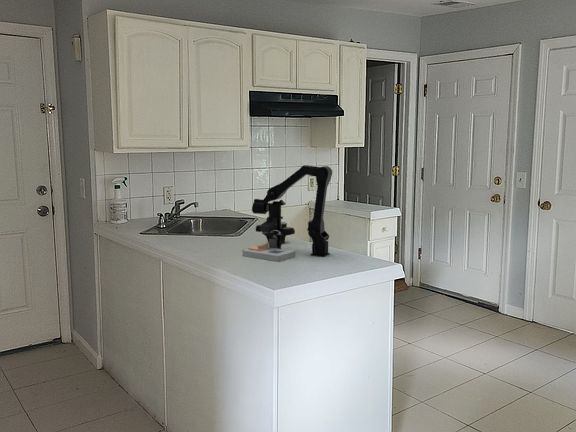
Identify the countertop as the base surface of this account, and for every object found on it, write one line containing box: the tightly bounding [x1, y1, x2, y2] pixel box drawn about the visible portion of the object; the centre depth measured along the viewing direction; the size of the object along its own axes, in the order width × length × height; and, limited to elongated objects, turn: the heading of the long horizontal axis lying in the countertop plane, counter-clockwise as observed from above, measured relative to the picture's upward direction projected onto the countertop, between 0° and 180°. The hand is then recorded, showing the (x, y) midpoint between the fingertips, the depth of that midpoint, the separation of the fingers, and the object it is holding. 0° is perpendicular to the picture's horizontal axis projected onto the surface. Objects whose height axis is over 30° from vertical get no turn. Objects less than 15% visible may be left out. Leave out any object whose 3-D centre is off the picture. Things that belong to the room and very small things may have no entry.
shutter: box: [247, 243, 269, 251], centre depth 248 cm, size 6×6×2 cm
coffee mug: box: [272, 221, 288, 245], centre depth 274 cm, size 12×9×10 cm
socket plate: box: [241, 246, 296, 263], centre depth 245 cm, size 20×12×2 cm, turn 54°
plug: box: [268, 235, 282, 249], centre depth 255 cm, size 4×4×8 cm
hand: (275, 248), depth 256 cm, fingers closed on plug, 4 cm apart
